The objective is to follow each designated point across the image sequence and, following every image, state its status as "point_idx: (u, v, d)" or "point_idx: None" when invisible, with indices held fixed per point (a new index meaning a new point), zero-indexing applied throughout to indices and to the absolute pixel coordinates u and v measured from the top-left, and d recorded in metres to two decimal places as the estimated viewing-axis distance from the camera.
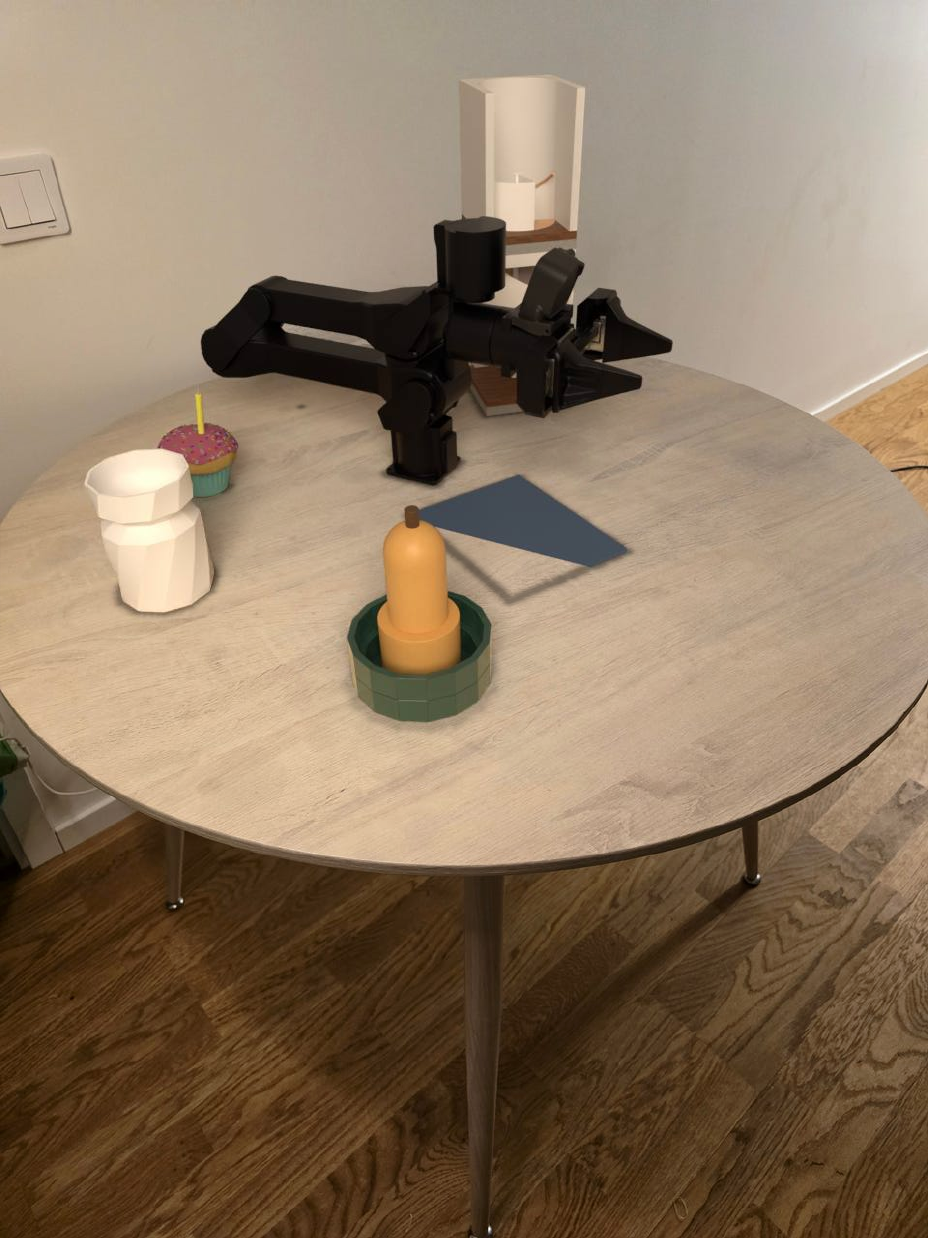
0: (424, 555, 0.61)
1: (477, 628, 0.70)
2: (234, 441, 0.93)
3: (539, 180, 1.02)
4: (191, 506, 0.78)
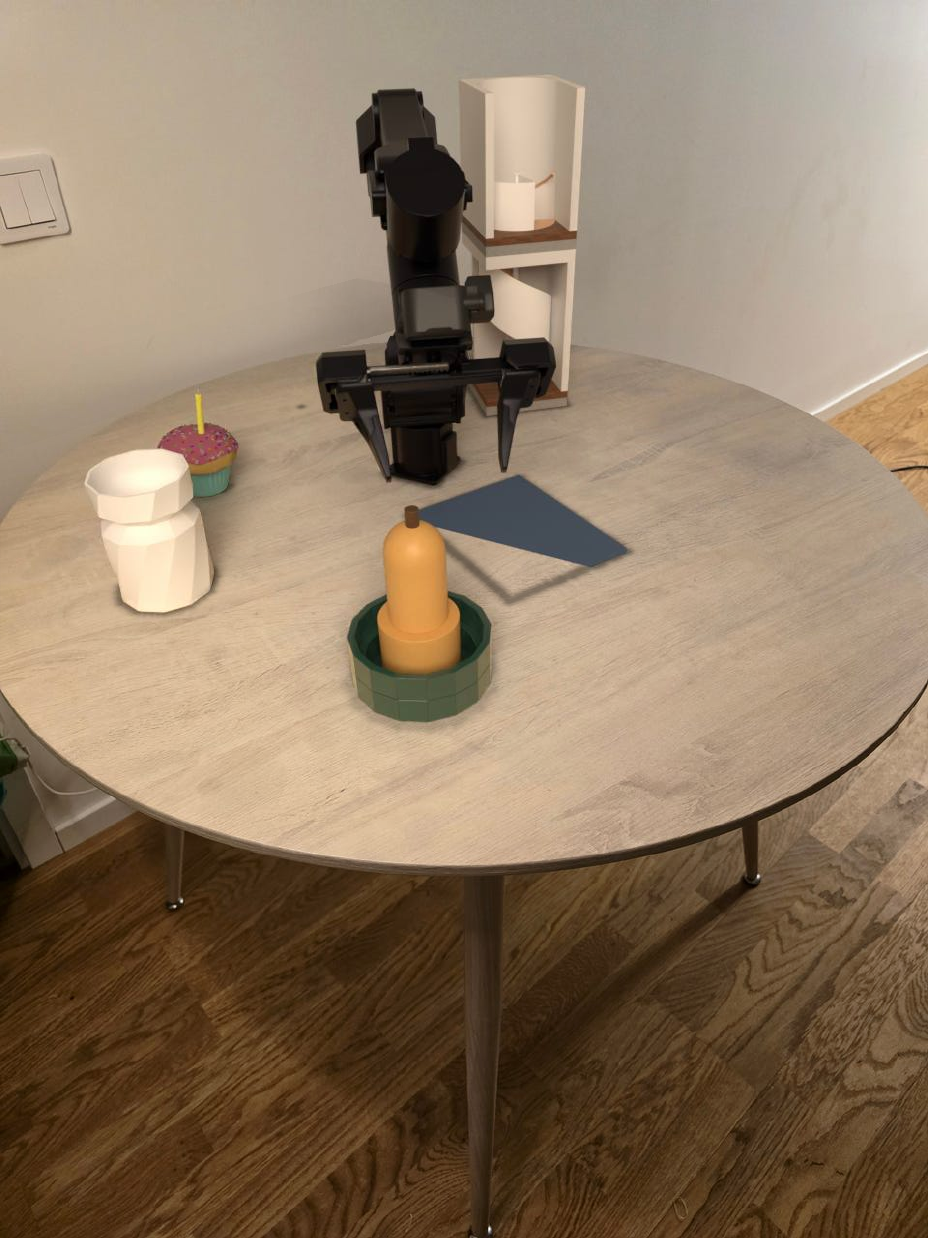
0: (424, 555, 0.61)
1: (477, 628, 0.70)
2: (234, 441, 0.93)
3: (539, 180, 1.02)
4: (191, 506, 0.78)
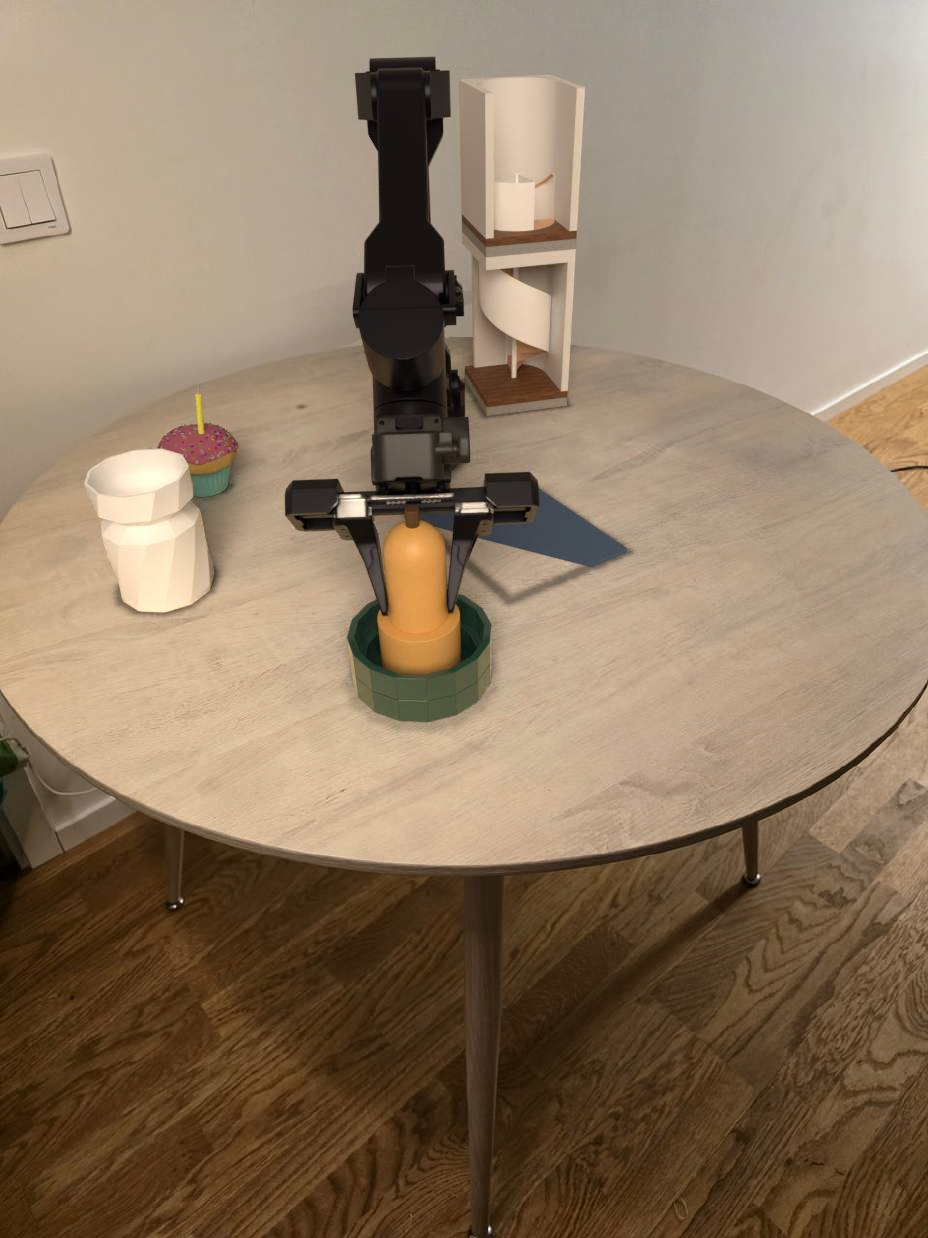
0: (424, 555, 0.61)
1: (477, 628, 0.70)
2: (234, 441, 0.93)
3: (539, 180, 1.02)
4: (191, 506, 0.78)
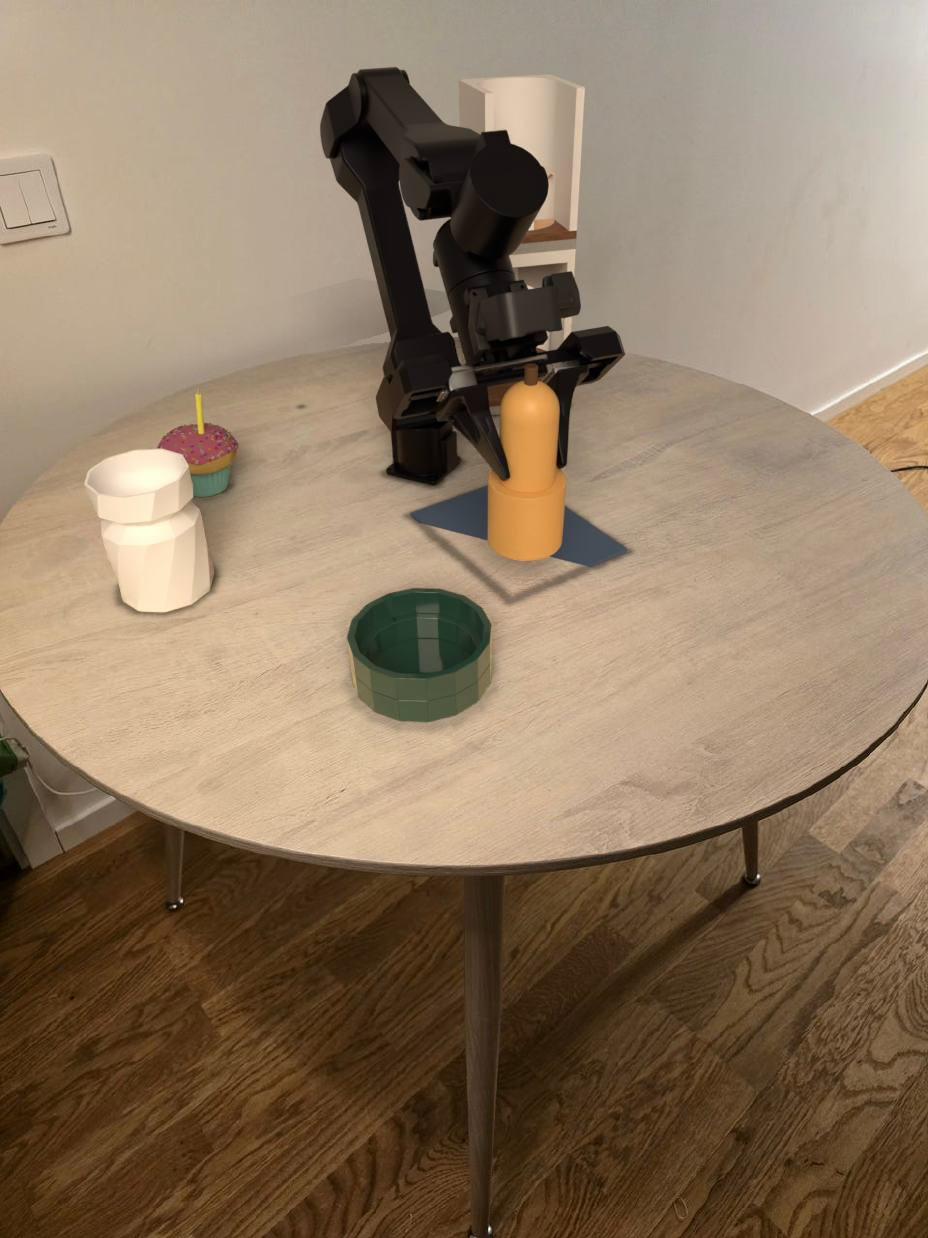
0: (550, 408, 0.65)
1: (477, 628, 0.70)
2: (234, 441, 0.93)
3: None
4: (191, 506, 0.78)
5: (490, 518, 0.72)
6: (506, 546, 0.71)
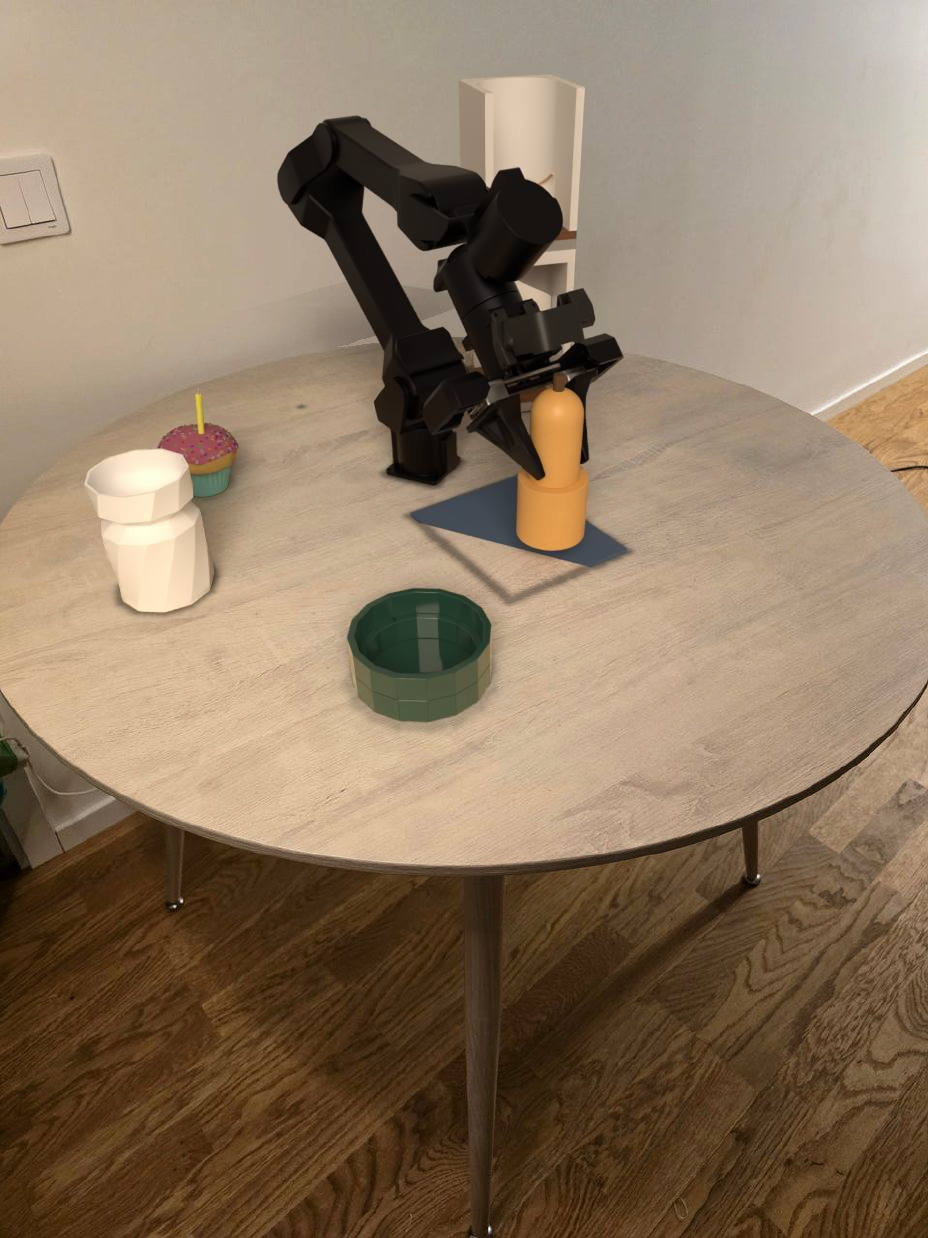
0: (579, 410, 0.73)
1: (477, 628, 0.70)
2: (234, 441, 0.93)
3: (539, 180, 1.01)
4: (191, 506, 0.78)
5: (523, 515, 0.79)
6: (541, 539, 0.79)
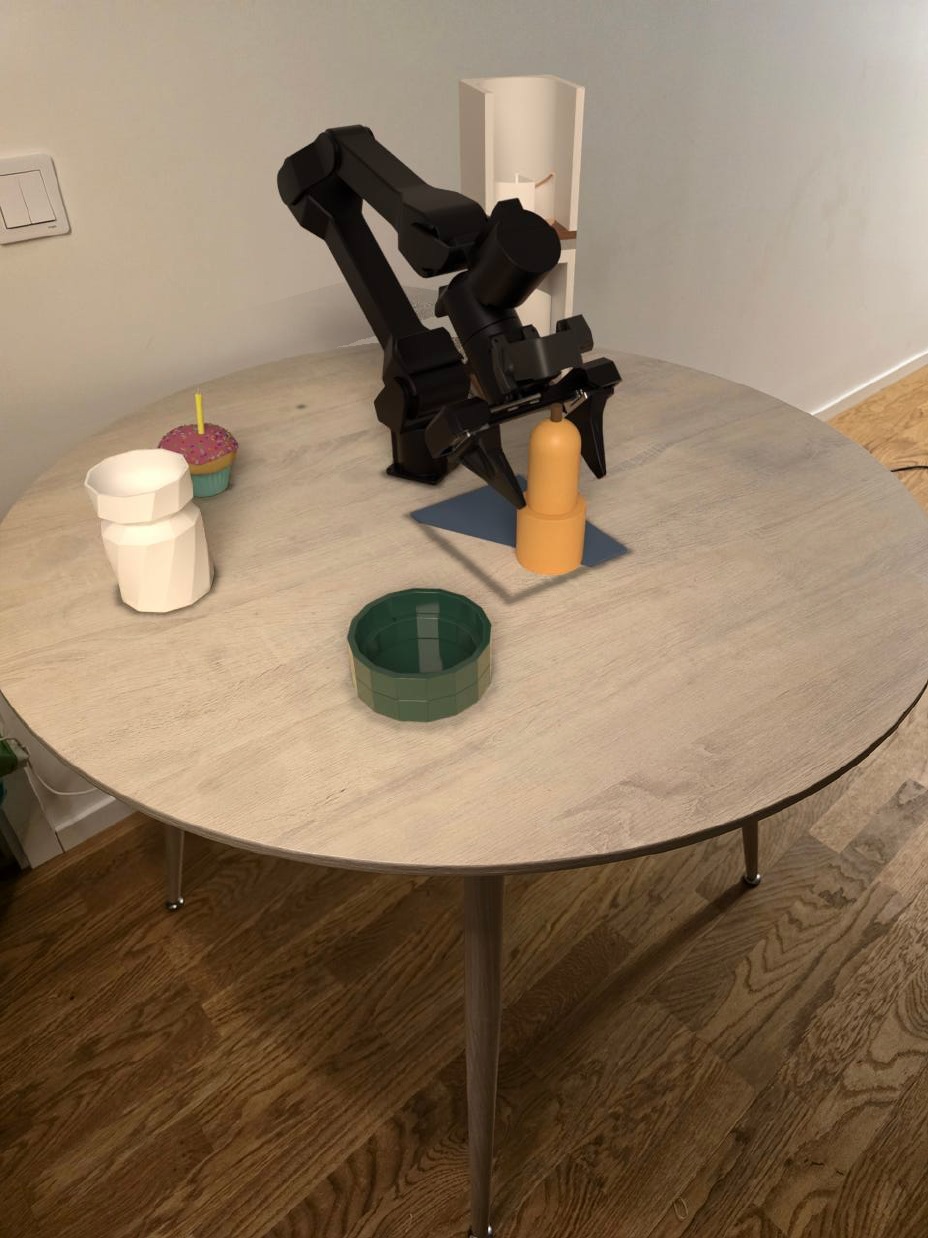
0: (576, 440, 0.74)
1: (477, 628, 0.70)
2: (234, 441, 0.93)
3: (539, 180, 1.01)
4: (191, 506, 0.78)
5: (523, 541, 0.80)
6: (540, 564, 0.80)
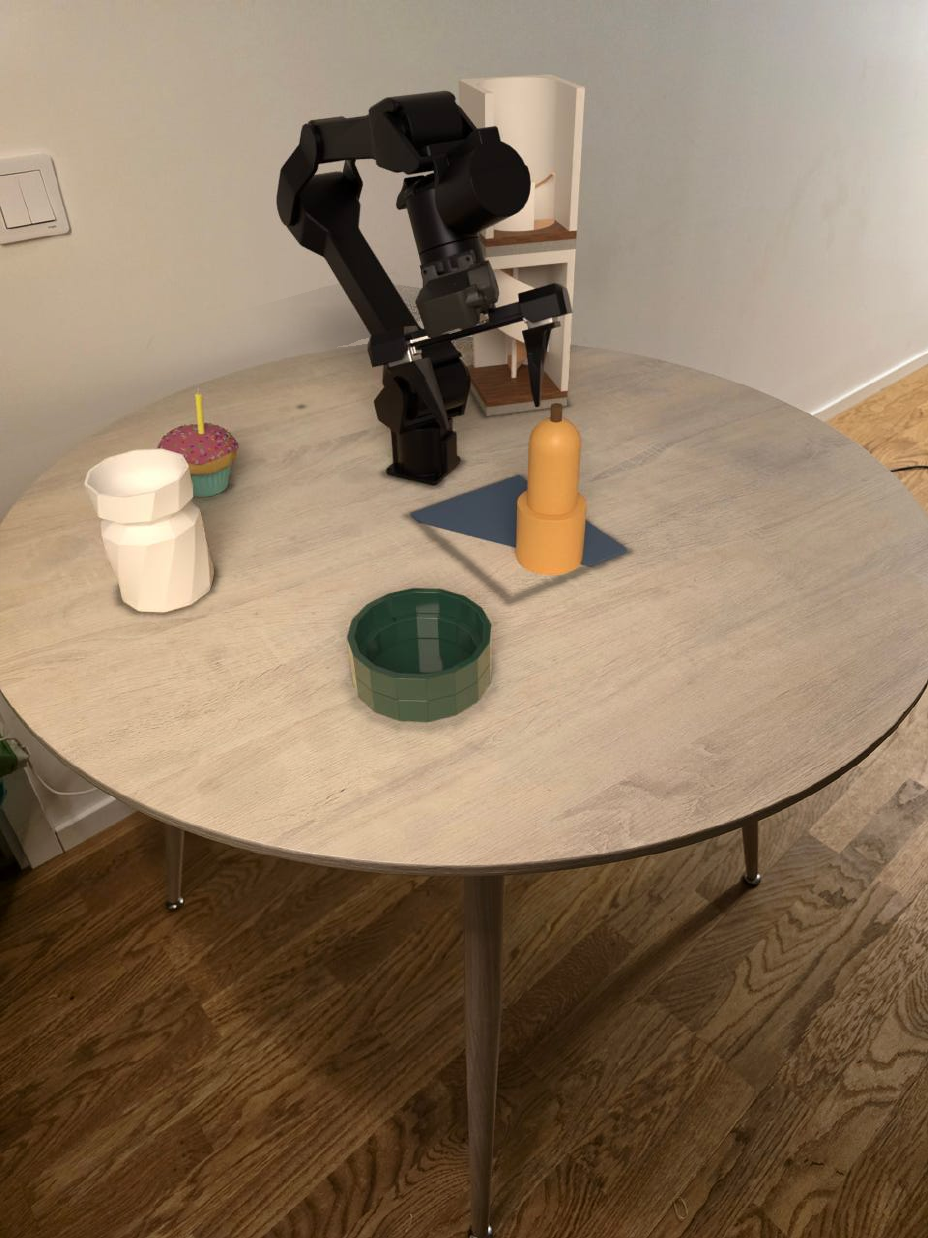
0: (576, 440, 0.74)
1: (477, 628, 0.70)
2: (234, 441, 0.93)
3: (539, 180, 1.01)
4: (191, 506, 0.78)
5: (523, 541, 0.80)
6: (540, 564, 0.80)
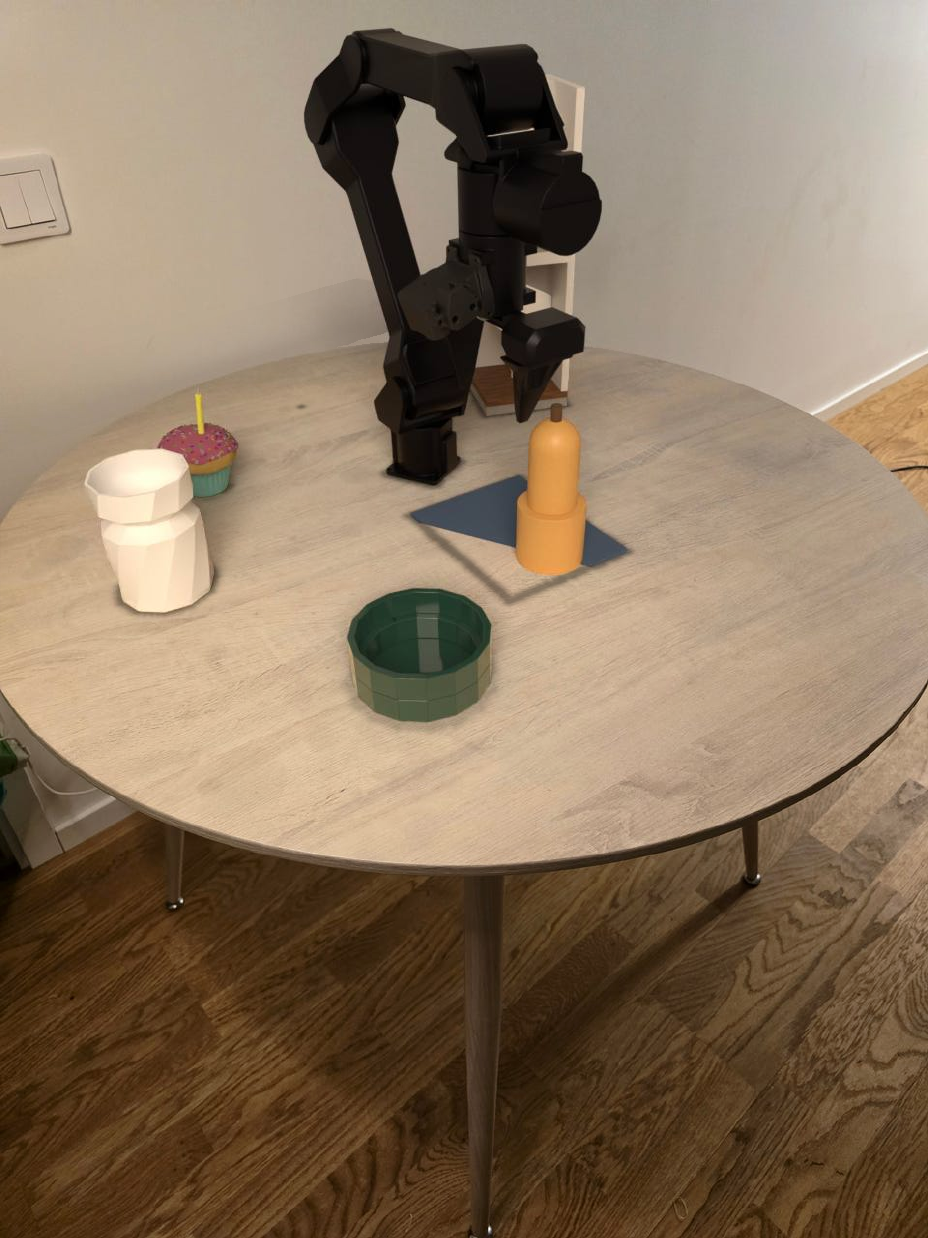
0: (576, 440, 0.74)
1: (477, 628, 0.70)
2: (234, 441, 0.93)
3: None
4: (191, 506, 0.78)
5: (523, 541, 0.80)
6: (540, 564, 0.80)
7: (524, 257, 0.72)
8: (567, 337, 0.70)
